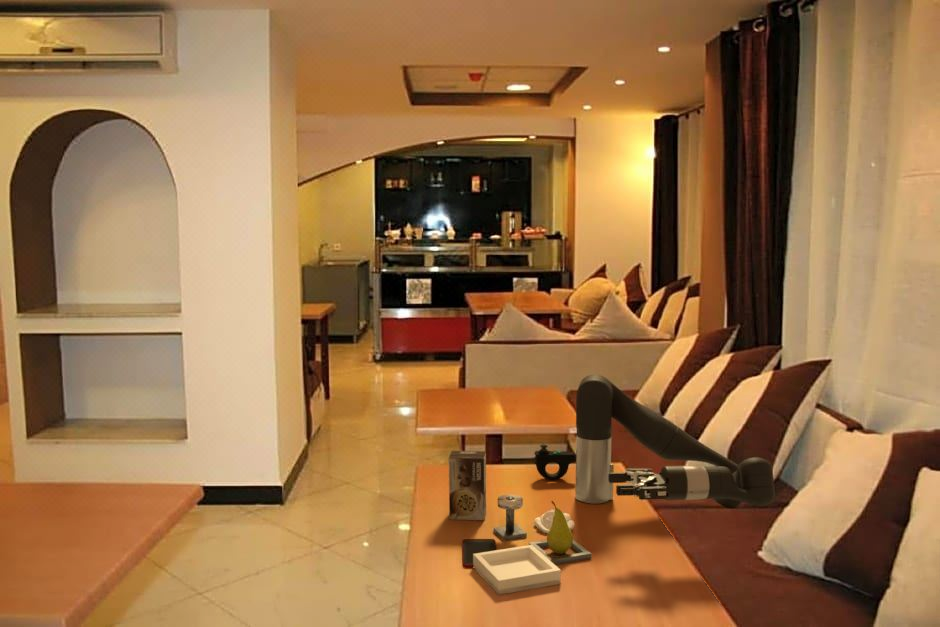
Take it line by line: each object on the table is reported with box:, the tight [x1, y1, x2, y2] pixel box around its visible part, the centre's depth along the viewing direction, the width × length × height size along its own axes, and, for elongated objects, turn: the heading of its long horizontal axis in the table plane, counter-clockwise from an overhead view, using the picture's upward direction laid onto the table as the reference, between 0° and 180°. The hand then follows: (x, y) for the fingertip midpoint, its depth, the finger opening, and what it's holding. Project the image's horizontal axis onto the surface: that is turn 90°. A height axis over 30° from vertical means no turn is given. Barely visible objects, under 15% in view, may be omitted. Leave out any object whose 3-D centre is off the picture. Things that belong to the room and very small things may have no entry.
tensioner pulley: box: [493, 494, 528, 541], centre depth 198 cm, size 6×6×9 cm
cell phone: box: [461, 538, 498, 569], centre depth 187 cm, size 8×15×1 cm, turn 1°
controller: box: [533, 444, 576, 481], centre depth 239 cm, size 4×12×10 cm, turn 90°
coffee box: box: [448, 450, 487, 521], centre depth 210 cm, size 9×6×16 cm
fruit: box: [546, 500, 574, 555], centre depth 187 cm, size 6×6×12 cm
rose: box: [533, 509, 575, 535], centre depth 203 cm, size 10×4×10 cm
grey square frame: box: [528, 539, 592, 566], centre depth 188 cm, size 10×10×1 cm
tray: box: [473, 544, 562, 596], centre depth 176 cm, size 14×14×3 cm
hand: (612, 483), depth 185 cm, fingers open, 8 cm apart
